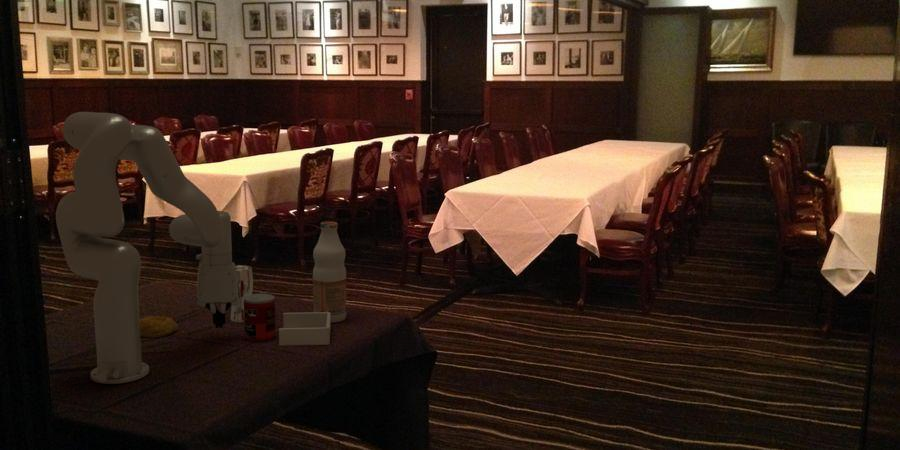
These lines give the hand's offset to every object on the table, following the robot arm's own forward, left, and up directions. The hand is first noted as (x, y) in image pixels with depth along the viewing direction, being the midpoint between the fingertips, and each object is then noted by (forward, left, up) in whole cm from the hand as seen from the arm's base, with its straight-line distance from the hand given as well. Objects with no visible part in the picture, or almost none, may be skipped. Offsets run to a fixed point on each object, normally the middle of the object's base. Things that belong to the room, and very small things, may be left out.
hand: (219, 326), depth 216 cm
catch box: (0, -22, -3) cm, 23 cm away
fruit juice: (+15, -28, -3) cm, 33 cm away
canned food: (0, -10, -3) cm, 11 cm away
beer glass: (+16, -3, -3) cm, 17 cm away
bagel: (+6, +17, -4) cm, 19 cm away
